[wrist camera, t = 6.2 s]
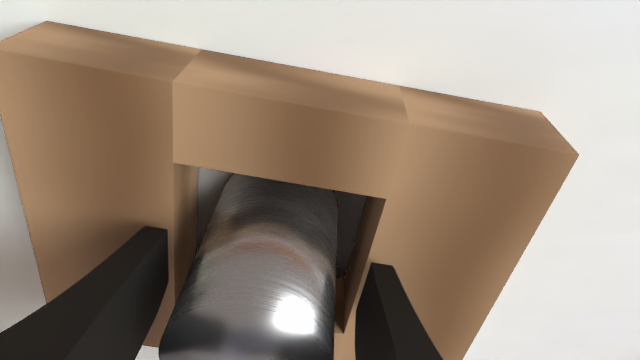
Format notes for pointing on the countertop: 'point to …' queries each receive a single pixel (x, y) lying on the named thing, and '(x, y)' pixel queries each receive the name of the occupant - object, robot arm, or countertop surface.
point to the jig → (271, 166)
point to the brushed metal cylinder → (260, 277)
